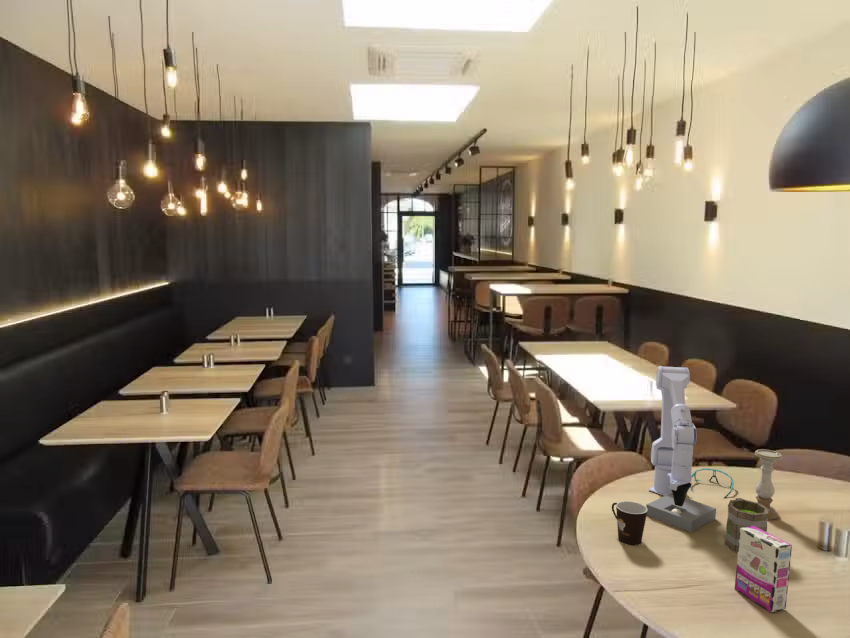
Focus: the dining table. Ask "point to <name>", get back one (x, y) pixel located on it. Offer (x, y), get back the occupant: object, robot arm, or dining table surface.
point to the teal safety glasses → (715, 477)
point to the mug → (743, 519)
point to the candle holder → (767, 480)
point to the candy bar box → (763, 568)
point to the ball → (676, 511)
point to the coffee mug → (630, 521)
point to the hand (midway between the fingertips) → (678, 505)
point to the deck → (690, 517)
